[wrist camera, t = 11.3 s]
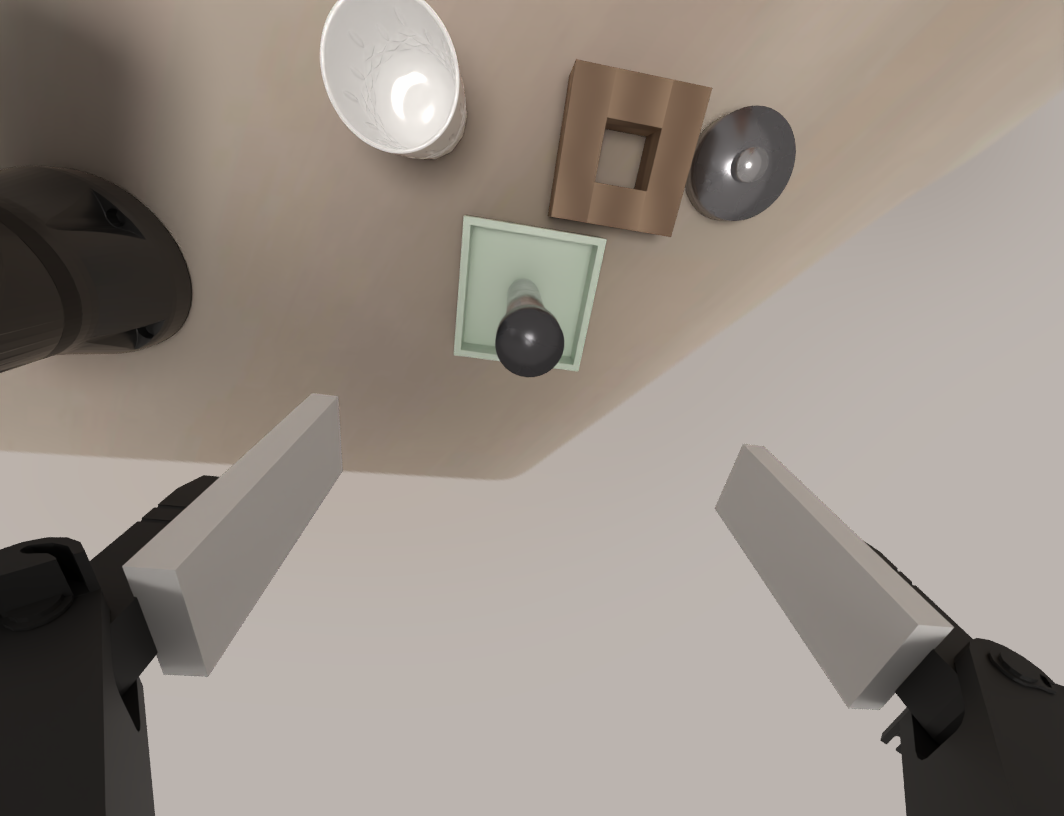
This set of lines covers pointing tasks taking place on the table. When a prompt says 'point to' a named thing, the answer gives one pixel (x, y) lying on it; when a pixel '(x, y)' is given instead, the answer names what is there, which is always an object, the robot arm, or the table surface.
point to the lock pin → (528, 333)
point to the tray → (524, 253)
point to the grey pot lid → (741, 164)
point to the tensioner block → (637, 109)
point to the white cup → (394, 76)
